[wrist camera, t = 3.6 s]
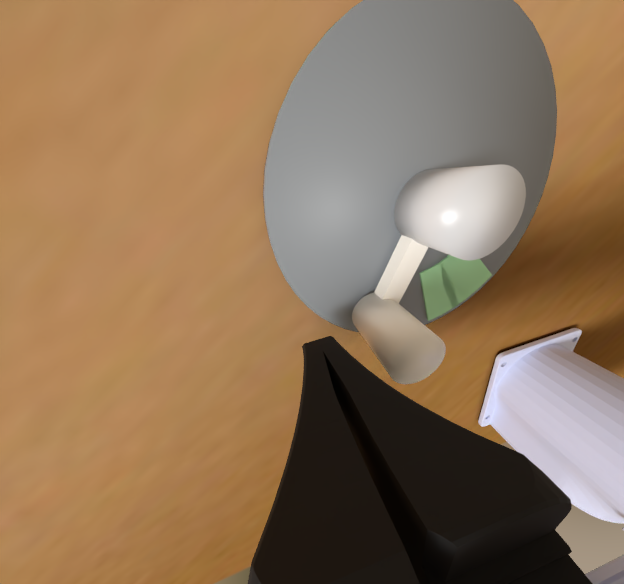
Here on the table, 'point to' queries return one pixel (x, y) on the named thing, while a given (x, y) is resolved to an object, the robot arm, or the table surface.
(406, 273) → the tuning lever
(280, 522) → the robot arm
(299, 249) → the dial plate
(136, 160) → the table surface
